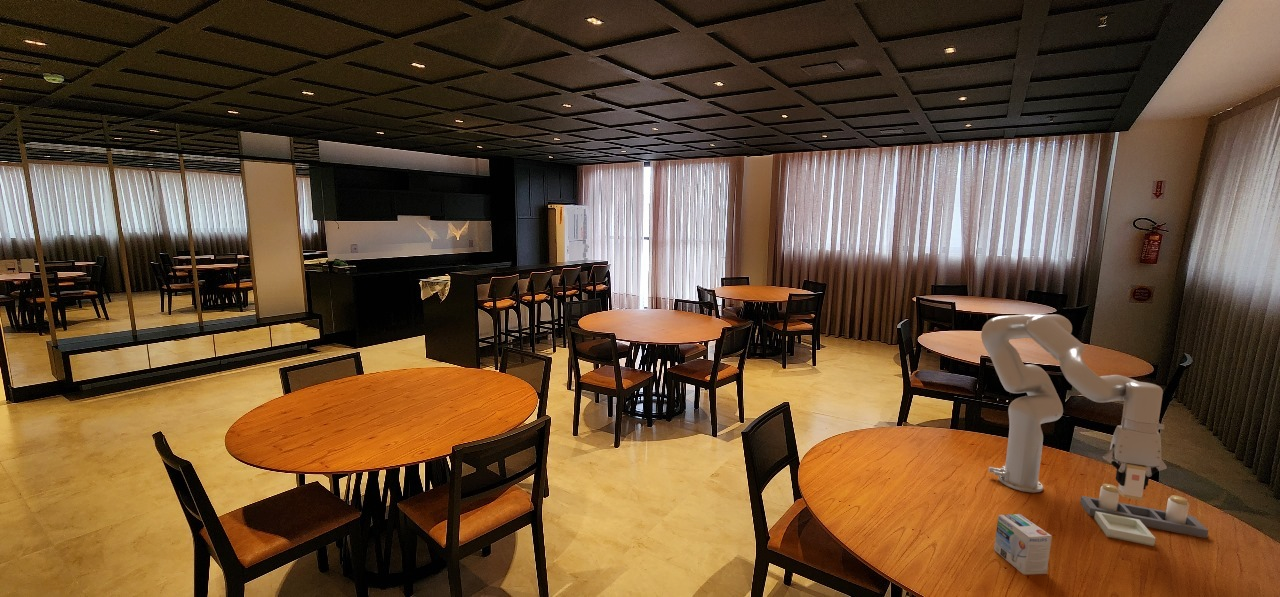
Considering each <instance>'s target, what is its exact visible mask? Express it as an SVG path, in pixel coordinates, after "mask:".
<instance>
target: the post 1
mask: <svg viewBox="0 0 1280 597" xmlns="http://www.w3.org/2000/svg"><path fill="white" fill-rule="evenodd" d="M1118 488H1119V486H1116V485H1114V484H1110V483H1103V484H1102V485H1101V486H1100V489H1099V497H1098V499H1099V503H1098V508H1101V509H1106V510H1112V511H1117V506H1118V502H1119V499H1120V493H1119V492H1118ZM1117 512H1118V511H1117Z"/></svg>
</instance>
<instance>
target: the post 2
mask: <svg viewBox="0 0 1280 597" xmlns="http://www.w3.org/2000/svg"><path fill="white" fill-rule="evenodd" d="M1188 501H1189V500H1188V499H1187V498H1185V497H1183V496H1180V495H1175V494H1174V495H1170V496H1169V497H1168V499H1167V502H1166V503H1167V504H1166V510H1165V511H1166V515H1165V521H1170V522H1175V523H1181V524H1186V520H1187V515H1189V514H1188V513H1189V508H1190V503H1189V502H1188Z"/></svg>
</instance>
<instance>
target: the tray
mask: <svg viewBox="0 0 1280 597" xmlns="http://www.w3.org/2000/svg"><path fill="white" fill-rule="evenodd" d="M1093 517H1094V516H1093ZM1093 519H1094V520H1095V522H1096V523H1097V525H1098V526H1099V528H1100V529H1101V530H1102V532H1103V533H1104V535H1105V536H1106V537H1107V538H1112V539H1117V540H1122V541H1127V542H1131V543H1136V544H1141V545H1146V546H1151V547H1155V544H1156V537H1155V536H1154V535H1153V533H1152V532H1151V531H1150V530H1149V528H1148V527H1146V526H1145V525H1144V524H1143V523H1142V522H1141V521H1140V520H1139V519H1134V518H1128V517H1123V516H1118V515H1113V514H1107V513H1102V512H1097V511H1095V517H1094V518H1093Z"/></svg>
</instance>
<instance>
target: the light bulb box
mask: <svg viewBox="0 0 1280 597" xmlns="http://www.w3.org/2000/svg"><path fill="white" fill-rule="evenodd" d="M995 531H996V533H995V540H994V548H993V550H994V551H995V552H996V553H997V554H998V555H999V556H1001V557H1002V558H1003V559H1005V561H1006V562H1008V563H1009V564H1010V565H1011V566H1012V567H1014V568H1015V569H1016V570H1017V571H1018V572H1020V573H1021V574H1022V575H1024V576H1025V575H1046V574H1048V567H1049V566H1048V565H1049V560H1050V553H1051V552H1050V551H1051V546H1052V540H1053V536H1052V534H1050V533H1048V532H1047V531H1045V530H1044V529H1043V528H1041V527H1039V526H1038V525H1037V524H1035V523H1033V522H1032V521H1030V520H1029V519H1028V518H1026V517H1025V516H1023V515H1022V514H1021V513H1017V514H1016V513H1015V514H1013V513H1012V514H999V515H998V516H997V524H996V530H995Z"/></svg>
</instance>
